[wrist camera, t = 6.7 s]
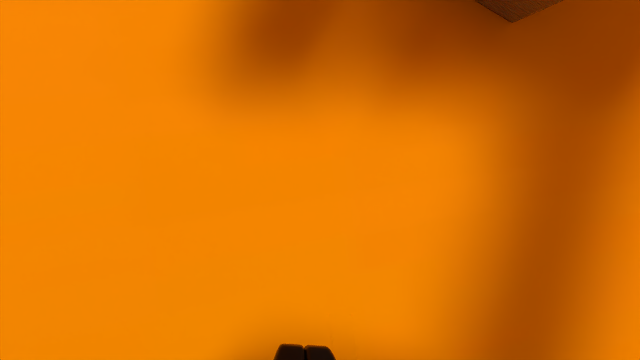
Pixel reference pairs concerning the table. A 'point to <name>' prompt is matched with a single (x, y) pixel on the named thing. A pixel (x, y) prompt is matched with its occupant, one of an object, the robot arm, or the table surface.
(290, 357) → the robot arm
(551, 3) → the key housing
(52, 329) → the table surface
